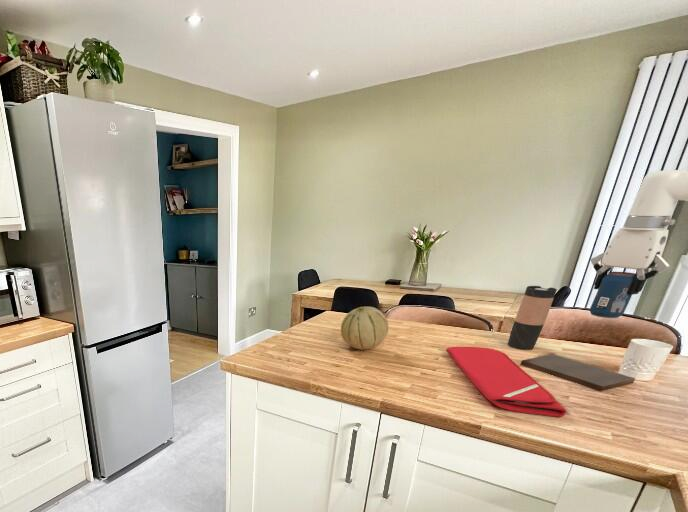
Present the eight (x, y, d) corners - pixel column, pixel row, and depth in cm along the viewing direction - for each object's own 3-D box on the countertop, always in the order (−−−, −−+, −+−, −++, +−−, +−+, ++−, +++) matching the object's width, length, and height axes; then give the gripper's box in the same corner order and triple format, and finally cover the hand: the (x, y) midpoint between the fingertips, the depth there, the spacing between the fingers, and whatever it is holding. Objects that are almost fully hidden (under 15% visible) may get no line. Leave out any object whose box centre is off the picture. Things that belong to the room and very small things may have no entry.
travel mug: (514, 349, 134) (536, 290, 125) (501, 342, 141) (521, 285, 132) (539, 350, 133) (563, 290, 124) (525, 343, 139) (547, 285, 131)
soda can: (597, 311, 119) (615, 270, 114) (627, 317, 113) (647, 274, 108) (581, 314, 117) (599, 272, 112) (611, 320, 111) (631, 276, 106)
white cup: (615, 368, 118) (630, 336, 114) (654, 376, 113) (672, 342, 109) (614, 376, 113) (631, 343, 109) (655, 384, 108) (674, 350, 104)
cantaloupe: (392, 349, 137) (402, 306, 130) (367, 359, 129) (376, 314, 123) (353, 338, 148) (360, 298, 141) (329, 347, 140) (335, 305, 134)
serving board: (632, 383, 109) (635, 378, 109) (600, 391, 105) (603, 386, 105) (550, 358, 126) (552, 354, 126) (519, 364, 122) (521, 360, 122)
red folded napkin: (500, 357, 128) (504, 346, 126) (566, 418, 93) (572, 404, 91) (444, 352, 133) (447, 342, 131) (487, 409, 98) (491, 396, 96)
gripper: (701, 224, 98) (665, 296, 105) (612, 221, 113) (586, 284, 120) (683, 225, 96) (648, 299, 103) (595, 222, 111) (570, 286, 118)
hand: (615, 290), depth 112 cm, fingers closed on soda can, 7 cm apart
